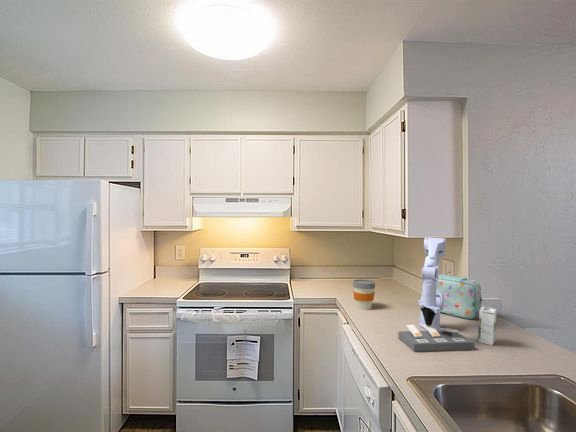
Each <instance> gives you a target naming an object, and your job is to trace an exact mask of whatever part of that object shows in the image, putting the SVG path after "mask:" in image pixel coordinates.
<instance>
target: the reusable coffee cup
mask: <svg viewBox="0 0 576 432" xmlns="http://www.w3.org/2000/svg"><path fill="white" fill-rule="evenodd" d="M352 286H353V290H352V293H353V299H354V303H355V308H356V309H357V310H363V311H369V310H371V309H372V307H373V301H374V300H375V299H374V297H375V288H376V283H375V281H374V280H370V279H354V280H353V283H352Z"/></svg>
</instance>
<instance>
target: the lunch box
mask: <svg viewBox="0 0 576 432" xmlns="http://www.w3.org/2000/svg"><path fill="white" fill-rule="evenodd" d="M467 278H468V277H466V276H465V277H458V276H452V275H446V274H439V277H438V290H439V291H440V292H441V293H442V294H443V296H444V306H443V310H442V311H440V313H443V314H446V315H449V316H451V317H458V318H462V319H468V320H473V319H475V318H476V315H477V314H478V313H479V310H480V309H481V308H482V307H481V305H482V303H484V299H483V297H482V288H481V284H480V282H478V281H477V280H476V279H473V280H469V279H470V278H469V279H467ZM478 315H479V314H478ZM478 315H477V316H478Z"/></svg>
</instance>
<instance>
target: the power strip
mask: <svg viewBox="0 0 576 432" xmlns="http://www.w3.org/2000/svg"><path fill="white" fill-rule="evenodd" d="M418 331H419V332H420V333H421V335H422V336H423V337H422V338H415V337H414V336H413V334H412V333H411V332H410V330H406V331H405V330H403V331H402V330H401V331H398V332H397V333H398V336H397V339H399V341H401V342H402V343H403V344H404V345H406V347H408V348H409V349H410V350H411V351H413V352H414V353H415V352H416V353H417V352H418V353H419V352H441V351H442V352H446V351H470V350H471V351H472V350H473V351H474V350H475V341H472V340H471V339H469V338H467V337H466V336H465V335H463V334H461V333H459V331H458V332H448V331H441V330H436V331H437V332H438V333H439V334H440V335H441V336H440V337H432V335H431V334H430V333H429V332H428V331H427V330H418Z"/></svg>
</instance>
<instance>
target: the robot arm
mask: <svg viewBox="0 0 576 432" xmlns="http://www.w3.org/2000/svg"><path fill="white" fill-rule="evenodd" d="M423 248H424V254H425V255H426V256H425V259H424V264H423V267H421V283H422V291H421V297H420V299H418V303H417V304H418V305H419V306H421V307H420V313H419V322H418V324H417V325H419V326H420V327H422V328H424V330H425V331H427V329H426V328H425V327H424V324H426V325H432V326H433V327H434V329H435V330H441V329H440V328H441V312H440V311H442V310H443V306H444V296H443V294H442V293H441V292H440V291H439V290H438V277H439V275H440V274H439V273H440V261H441V259H442V257H445V256H446V251H447V239H446V237H444V238H443V237H428V236H425V237H424V240H423Z"/></svg>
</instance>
